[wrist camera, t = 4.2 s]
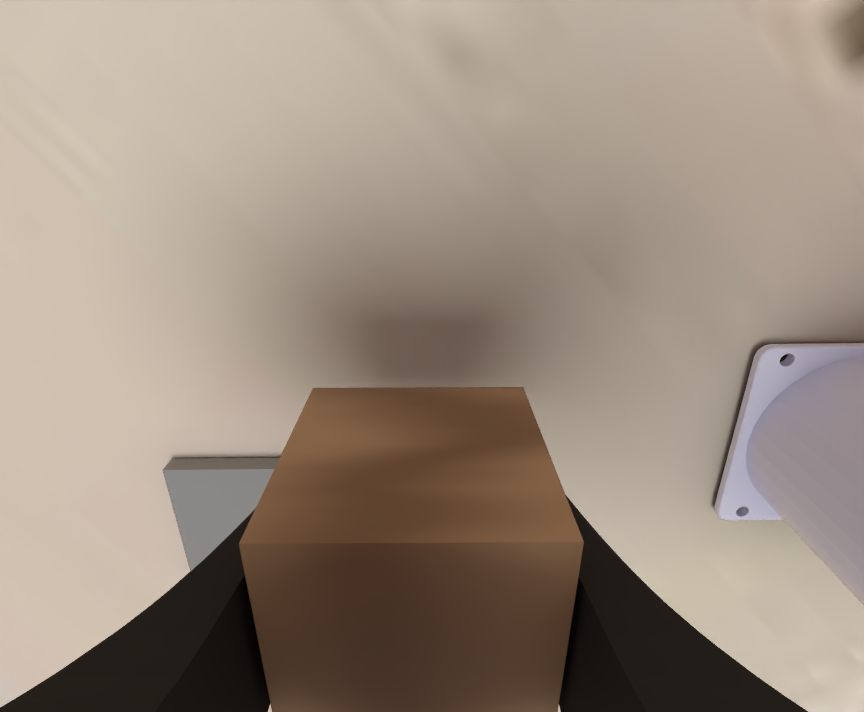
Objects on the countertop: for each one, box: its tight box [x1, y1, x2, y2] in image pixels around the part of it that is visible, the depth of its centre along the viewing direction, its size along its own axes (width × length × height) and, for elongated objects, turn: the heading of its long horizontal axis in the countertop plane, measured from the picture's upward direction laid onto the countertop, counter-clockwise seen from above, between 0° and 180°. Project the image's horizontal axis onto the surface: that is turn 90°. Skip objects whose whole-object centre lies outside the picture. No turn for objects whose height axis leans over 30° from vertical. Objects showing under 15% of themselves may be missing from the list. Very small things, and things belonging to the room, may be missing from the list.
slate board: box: [163, 458, 280, 571], centre depth 23 cm, size 14×14×1 cm
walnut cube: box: [239, 387, 584, 712], centre depth 10 cm, size 5×5×5 cm
